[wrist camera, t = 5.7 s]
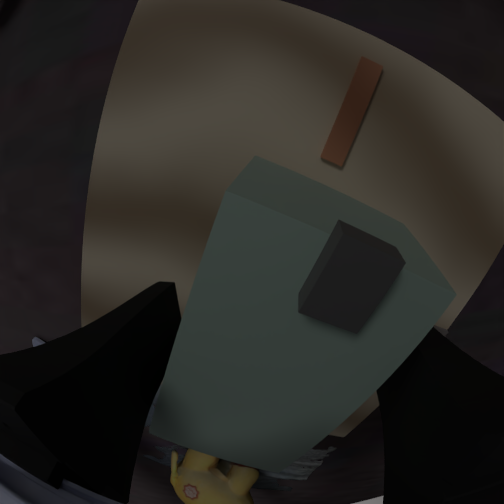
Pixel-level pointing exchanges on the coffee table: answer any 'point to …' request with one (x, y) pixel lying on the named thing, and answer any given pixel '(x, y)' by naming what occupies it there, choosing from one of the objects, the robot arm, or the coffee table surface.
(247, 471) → the stuffed giraffe
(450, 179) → the base
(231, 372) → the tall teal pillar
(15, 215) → the coffee table surface
